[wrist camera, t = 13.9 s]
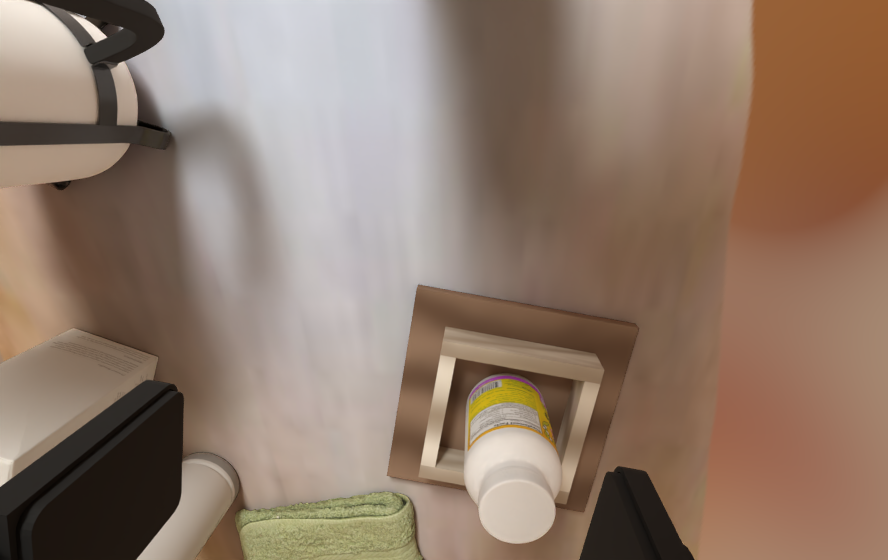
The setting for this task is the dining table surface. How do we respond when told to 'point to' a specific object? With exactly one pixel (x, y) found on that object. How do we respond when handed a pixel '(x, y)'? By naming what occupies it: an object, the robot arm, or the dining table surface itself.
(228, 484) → the travel mug
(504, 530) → the supplement bottle
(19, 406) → the skincare box
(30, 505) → the robot arm
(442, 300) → the collar dock
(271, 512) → the washcloth
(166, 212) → the dining table surface
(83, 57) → the coffee press
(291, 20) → the dining table surface
